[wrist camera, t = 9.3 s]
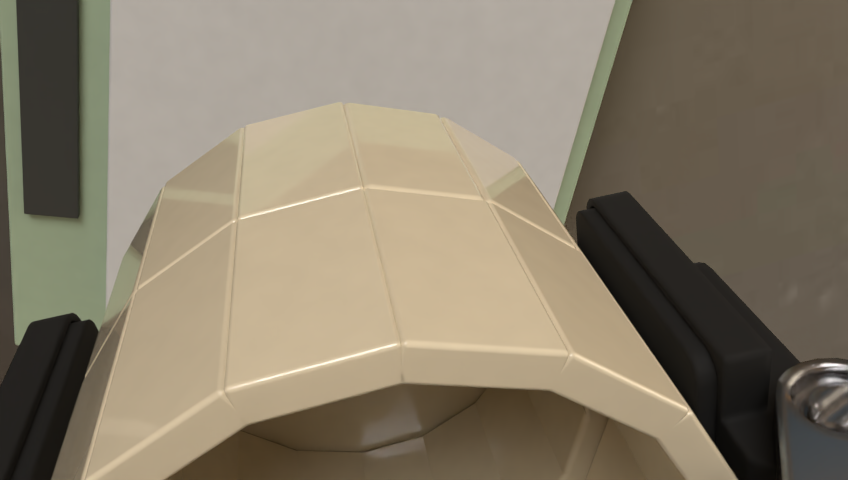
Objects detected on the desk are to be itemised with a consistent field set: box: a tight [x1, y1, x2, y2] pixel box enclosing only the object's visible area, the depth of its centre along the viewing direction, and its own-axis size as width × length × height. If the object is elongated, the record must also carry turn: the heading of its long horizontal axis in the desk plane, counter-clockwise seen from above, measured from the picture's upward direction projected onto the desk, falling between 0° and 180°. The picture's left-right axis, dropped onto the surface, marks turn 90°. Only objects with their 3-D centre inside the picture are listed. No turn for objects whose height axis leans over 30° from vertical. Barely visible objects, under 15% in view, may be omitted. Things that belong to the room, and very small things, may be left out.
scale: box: [0, 0, 632, 345], centre depth 20 cm, size 14×14×3 cm
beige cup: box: [51, 102, 738, 480], centre depth 10 cm, size 7×7×6 cm
